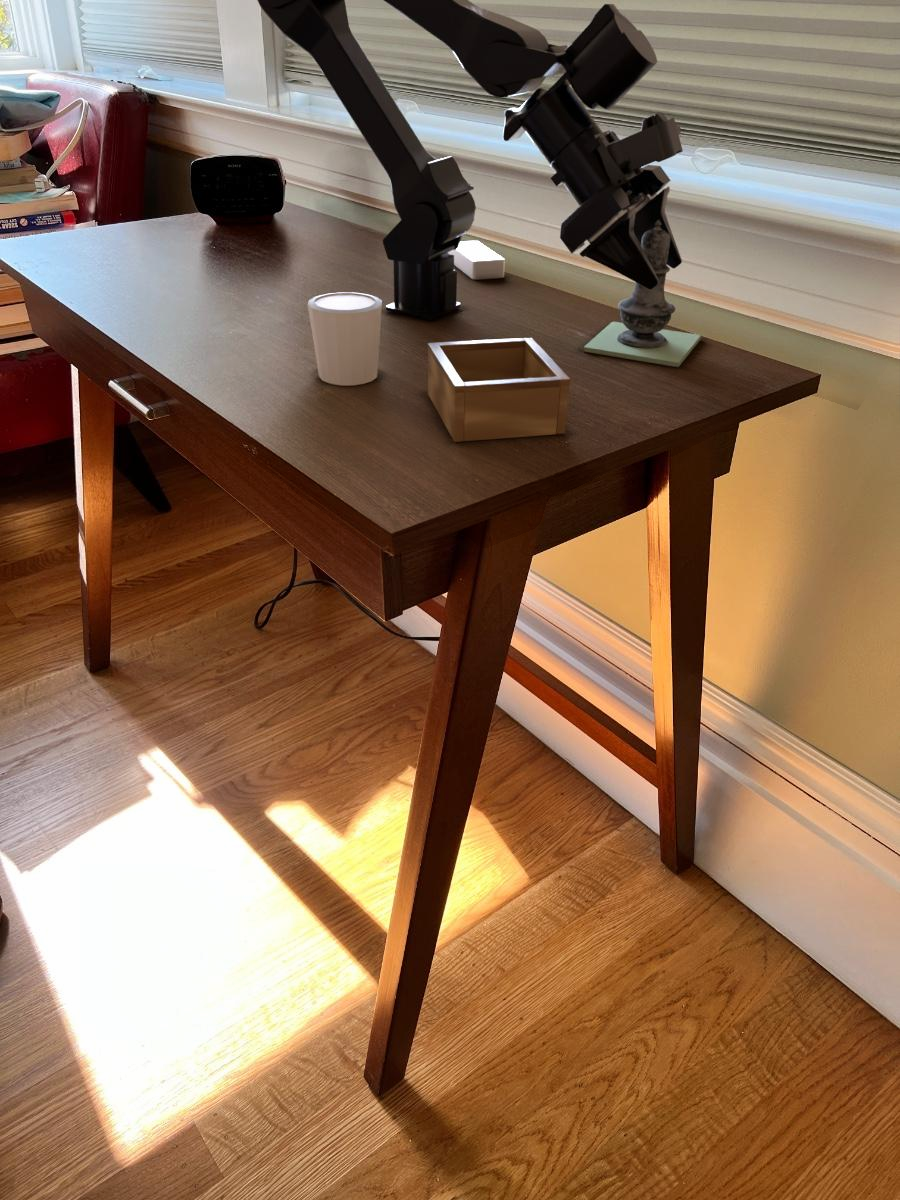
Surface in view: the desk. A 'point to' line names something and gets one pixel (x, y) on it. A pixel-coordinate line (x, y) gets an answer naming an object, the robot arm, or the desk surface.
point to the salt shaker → (648, 298)
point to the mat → (665, 355)
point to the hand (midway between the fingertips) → (667, 275)
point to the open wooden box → (497, 389)
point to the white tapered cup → (346, 336)
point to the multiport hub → (478, 260)
